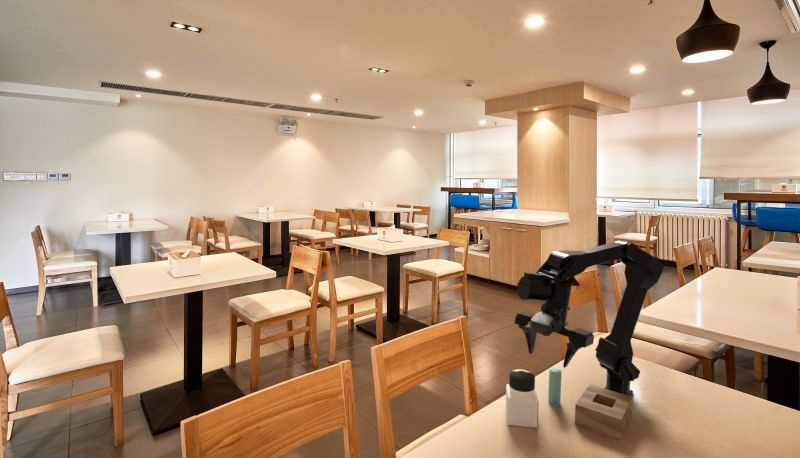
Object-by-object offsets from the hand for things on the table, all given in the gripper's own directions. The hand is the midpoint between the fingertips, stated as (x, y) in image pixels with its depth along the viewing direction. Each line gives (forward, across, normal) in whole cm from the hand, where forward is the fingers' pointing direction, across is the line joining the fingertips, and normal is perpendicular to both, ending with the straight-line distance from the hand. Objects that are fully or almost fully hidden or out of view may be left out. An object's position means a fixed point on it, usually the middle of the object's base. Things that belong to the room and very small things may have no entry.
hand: (547, 360), depth 104 cm
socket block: (+11, +14, +6) cm, 19 cm away
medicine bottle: (+14, -1, -7) cm, 16 cm away
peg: (+12, +2, +5) cm, 13 cm away
